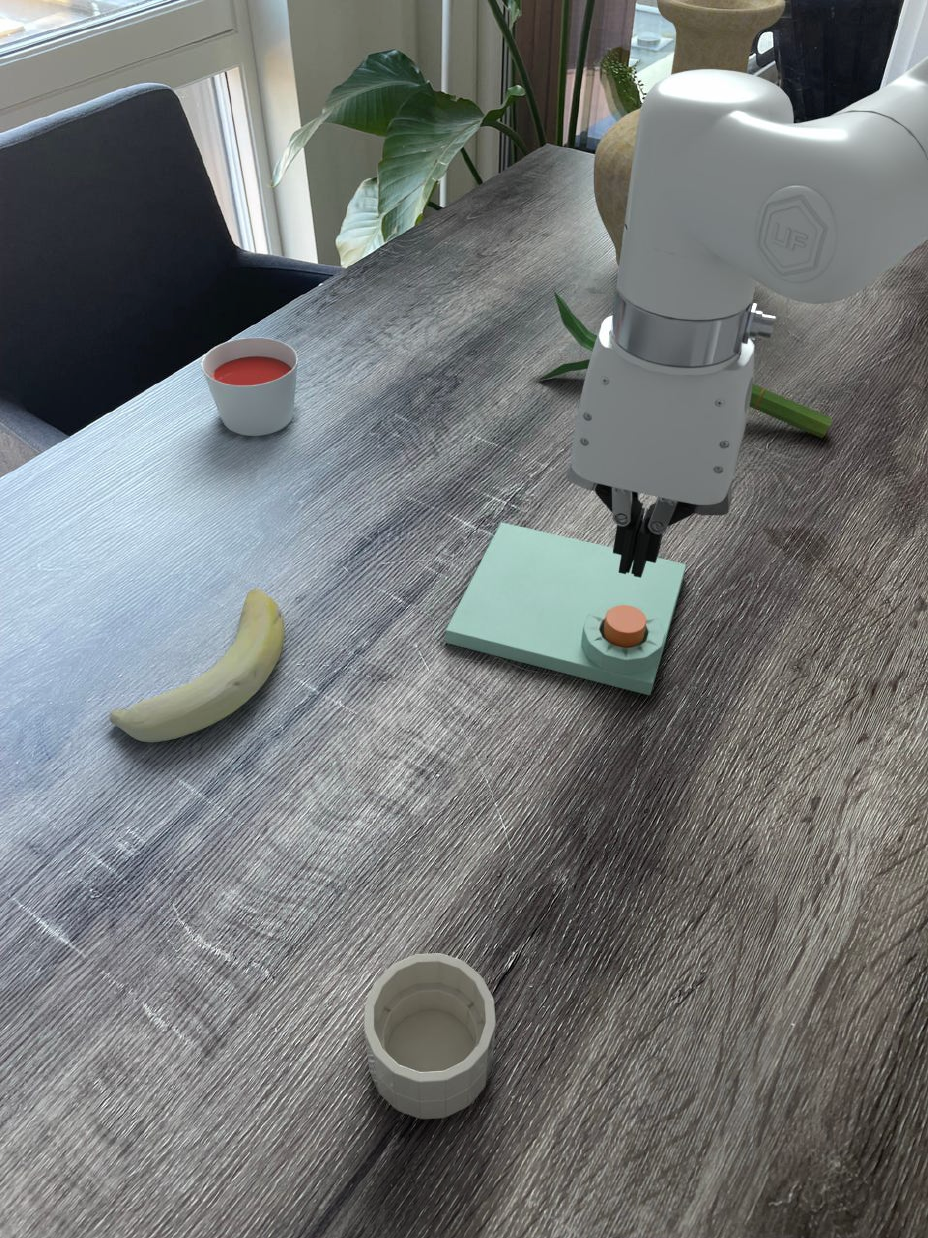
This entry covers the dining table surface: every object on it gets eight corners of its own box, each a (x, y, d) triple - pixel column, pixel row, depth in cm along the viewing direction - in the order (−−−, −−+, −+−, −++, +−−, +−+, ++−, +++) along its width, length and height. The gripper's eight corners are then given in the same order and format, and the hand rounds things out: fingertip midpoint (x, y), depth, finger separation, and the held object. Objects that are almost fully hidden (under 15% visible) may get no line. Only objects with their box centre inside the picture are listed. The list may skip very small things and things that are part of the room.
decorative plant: (826, 438, 94) (539, 312, 98) (791, 494, 101) (524, 374, 105) (842, 398, 97) (563, 278, 101) (806, 456, 104) (547, 341, 108)
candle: (225, 452, 95) (214, 394, 90) (202, 404, 100) (191, 347, 96) (315, 431, 97) (309, 374, 93) (288, 386, 103) (281, 330, 99)
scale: (683, 576, 83) (690, 548, 81) (650, 696, 73) (656, 668, 71) (500, 534, 86) (501, 506, 84) (445, 643, 77) (445, 615, 75)
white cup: (506, 1022, 56) (511, 976, 52) (468, 1142, 51) (470, 1101, 47) (396, 984, 57) (393, 937, 53) (350, 1097, 53) (342, 1055, 49)
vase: (785, 321, 115) (862, 26, 94) (590, 317, 115) (623, 21, 94) (747, 238, 131) (805, -29, 110) (576, 235, 131) (601, -34, 110)
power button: (647, 625, 75) (650, 610, 74) (639, 652, 73) (642, 637, 72) (608, 615, 76) (610, 600, 74) (599, 642, 73) (601, 627, 72)
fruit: (325, 644, 77) (322, 613, 74) (179, 773, 68) (170, 741, 65) (257, 607, 80) (251, 575, 77) (108, 725, 71) (97, 694, 68)
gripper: (819, 312, 58) (749, 554, 70) (568, 270, 61) (545, 508, 74) (806, 377, 52) (734, 624, 65) (533, 326, 56) (515, 572, 69)
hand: (634, 562), depth 69 cm, fingers closed
